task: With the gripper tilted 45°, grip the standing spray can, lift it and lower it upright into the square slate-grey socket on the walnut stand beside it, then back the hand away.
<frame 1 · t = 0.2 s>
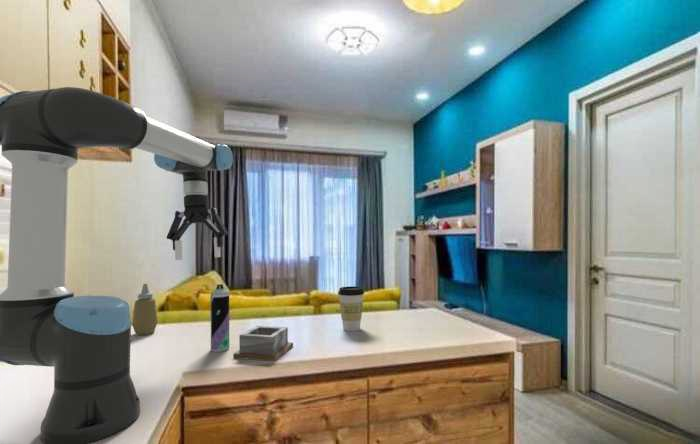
hand: (198, 258, 118), 28 cm above the worktop, tool pointing down, fingers open, 13 cm apart
socket stand: (264, 351, 107), on the worktop
spray can: (220, 349, 110), on the worktop
squeeze bottle: (145, 333, 130), on the worktop
coffee cup: (351, 329, 132), on the worktop
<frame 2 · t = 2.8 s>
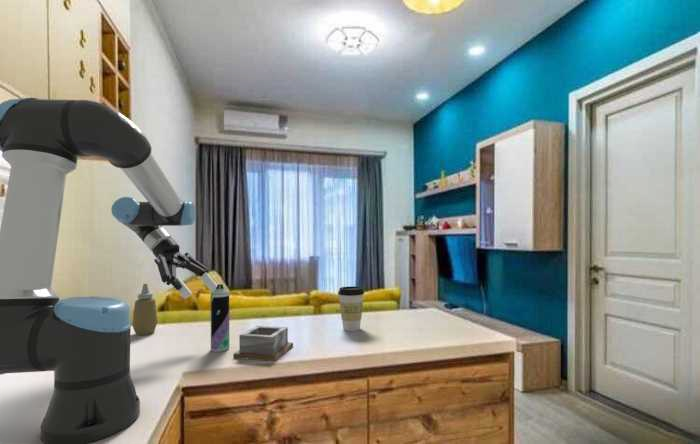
hand: (202, 292, 114), 17 cm above the worktop, tool tilted 45°, fingers open, 13 cm apart
nothing on the worktop moved.
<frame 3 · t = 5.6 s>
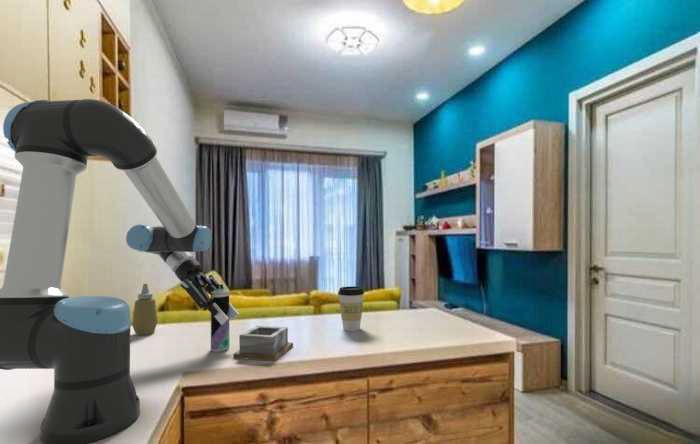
hand: (230, 319, 110), 9 cm above the worktop, tool tilted 45°, fingers closed on spray can, 5 cm apart
spray can: (220, 349, 110), on the worktop, touching gripper
everything else where it was.
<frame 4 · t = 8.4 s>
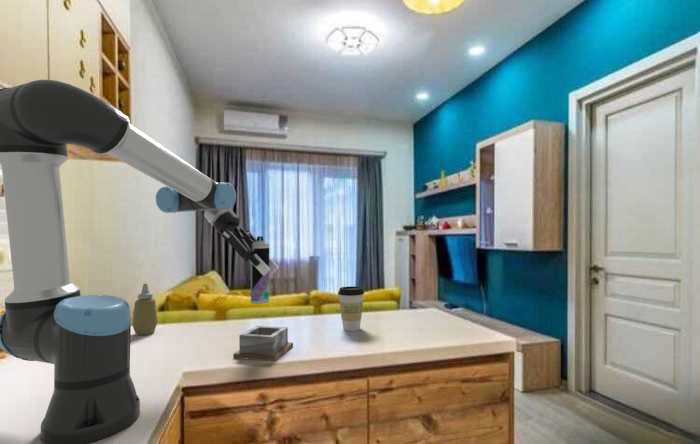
hand: (271, 271, 108), 24 cm above the worktop, tool tilted 45°, fingers closed on spray can, 5 cm apart
spray can: (260, 302, 108), point 15 cm above the worktop, touching gripper
everything else where it was.
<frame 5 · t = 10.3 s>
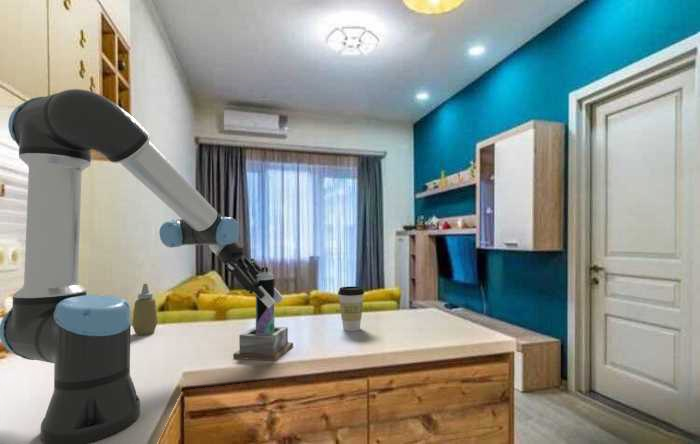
hand: (276, 302, 107), 15 cm above the worktop, tool tilted 45°, fingers closed on spray can, 5 cm apart
spray can: (265, 334, 108), point 5 cm above the worktop, touching gripper
everything else where it was.
when the fingers open (12 cm above the worktop, at t = 11.3 s): spray can drops 1 cm, resting on socket stand.
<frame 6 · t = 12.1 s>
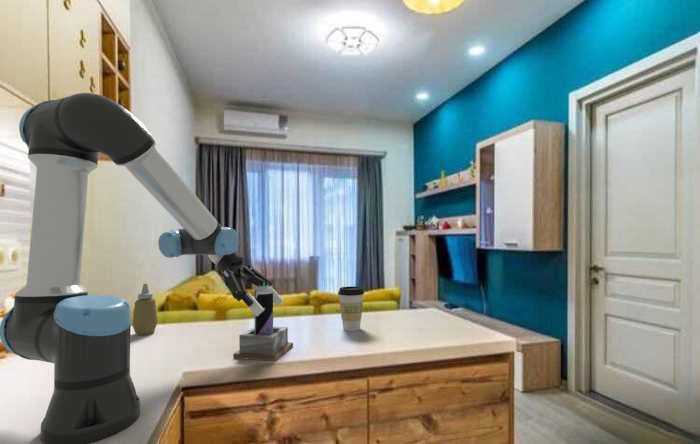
hand: (271, 308, 107), 13 cm above the worktop, tool tilted 45°, fingers open, 13 cm apart
spray can: (264, 348, 107), point 1 cm above the worktop, touching socket stand
everything else where it was.
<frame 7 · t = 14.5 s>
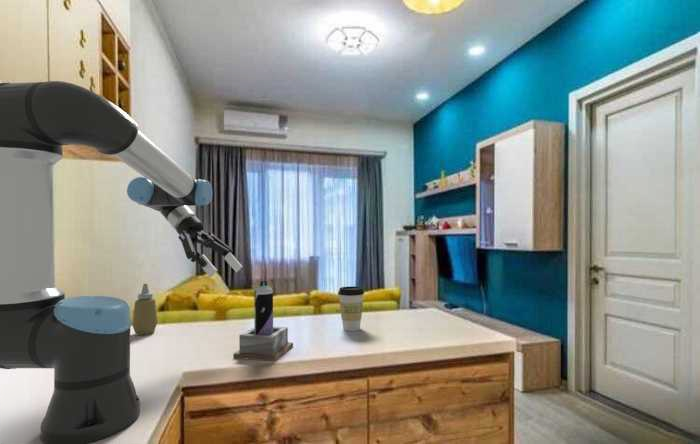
hand: (227, 271, 109), 24 cm above the worktop, tool tilted 45°, fingers open, 13 cm apart
nothing on the worktop moved.
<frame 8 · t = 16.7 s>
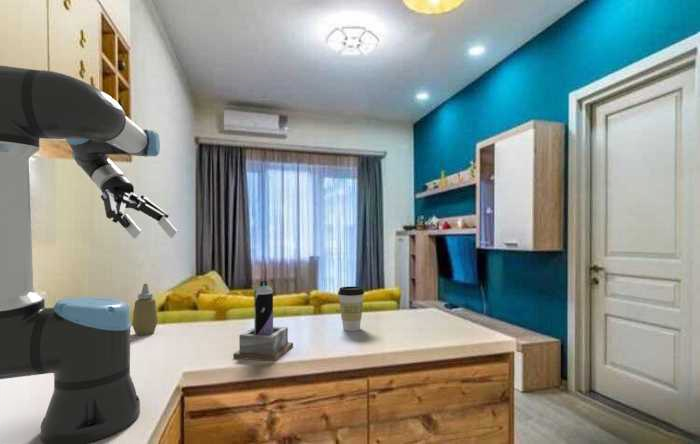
hand: (157, 234, 100), 36 cm above the worktop, tool tilted 45°, fingers open, 13 cm apart
nothing on the worktop moved.
at the end: spray can 0.1 cm off-centre on the socket stand, point 1.0 cm above the socket stand's base; spray can tilted 0°; the gripper is holding nothing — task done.
